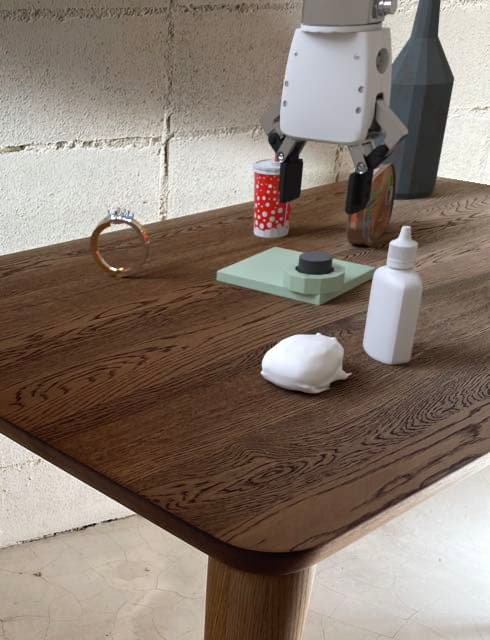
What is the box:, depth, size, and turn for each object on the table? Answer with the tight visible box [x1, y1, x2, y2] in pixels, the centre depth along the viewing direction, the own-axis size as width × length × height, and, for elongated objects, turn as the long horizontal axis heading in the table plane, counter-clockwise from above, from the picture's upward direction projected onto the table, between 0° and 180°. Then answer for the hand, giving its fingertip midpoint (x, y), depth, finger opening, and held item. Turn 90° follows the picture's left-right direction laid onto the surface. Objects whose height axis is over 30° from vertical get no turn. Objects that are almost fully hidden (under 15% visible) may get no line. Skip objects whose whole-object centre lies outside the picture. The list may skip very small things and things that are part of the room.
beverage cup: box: [251, 121, 294, 239], centre depth 114 cm, size 6×6×14 cm
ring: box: [89, 206, 150, 279], centre depth 104 cm, size 7×3×8 cm, turn 66°
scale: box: [216, 246, 377, 306], centre depth 101 cm, size 15×13×3 cm
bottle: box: [373, 0, 455, 200], centre depth 125 cm, size 10×10×30 cm
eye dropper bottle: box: [362, 225, 424, 366], centre depth 80 cm, size 4×6×12 cm
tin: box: [345, 163, 396, 247], centre depth 113 cm, size 15×3×8 cm, turn 150°
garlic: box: [260, 332, 353, 394], centre depth 79 cm, size 8×7×4 cm
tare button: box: [298, 251, 334, 275], centre depth 96 cm, size 4×4×2 cm
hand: (321, 204), depth 92 cm, fingers open, 7 cm apart
